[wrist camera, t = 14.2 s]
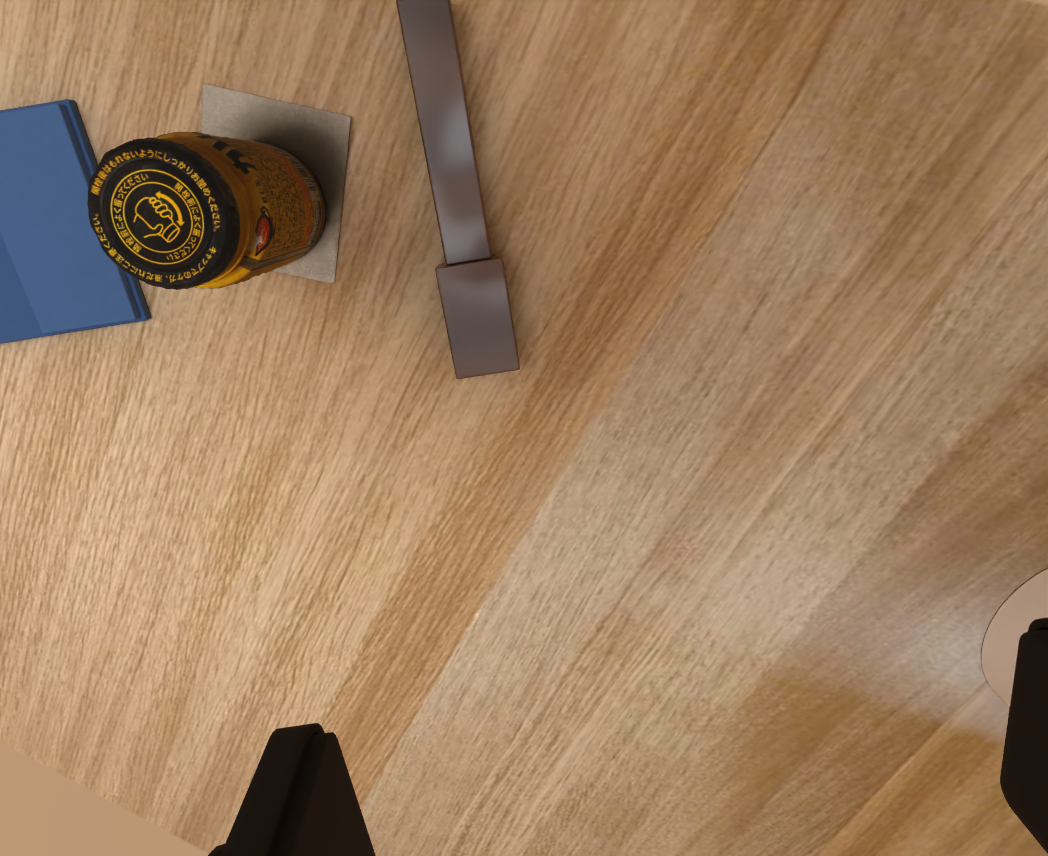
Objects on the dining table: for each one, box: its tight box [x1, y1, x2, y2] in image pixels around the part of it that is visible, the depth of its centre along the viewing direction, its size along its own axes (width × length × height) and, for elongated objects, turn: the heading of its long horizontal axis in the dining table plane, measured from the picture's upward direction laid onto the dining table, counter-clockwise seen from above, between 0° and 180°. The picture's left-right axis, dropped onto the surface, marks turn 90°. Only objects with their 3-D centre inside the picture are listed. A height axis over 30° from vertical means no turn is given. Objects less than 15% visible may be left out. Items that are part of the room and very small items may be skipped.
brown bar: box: [396, 0, 520, 379], centre depth 34 cm, size 18×4×2 cm, turn 9°
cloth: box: [0, 100, 151, 343], centre depth 34 cm, size 11×11×1 cm
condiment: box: [87, 84, 351, 290], centre depth 29 cm, size 7×8×12 cm
